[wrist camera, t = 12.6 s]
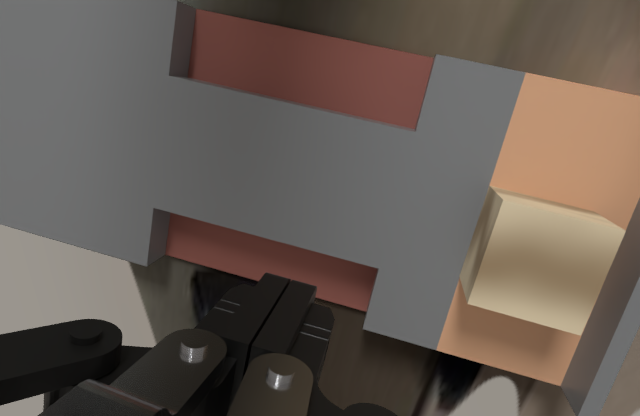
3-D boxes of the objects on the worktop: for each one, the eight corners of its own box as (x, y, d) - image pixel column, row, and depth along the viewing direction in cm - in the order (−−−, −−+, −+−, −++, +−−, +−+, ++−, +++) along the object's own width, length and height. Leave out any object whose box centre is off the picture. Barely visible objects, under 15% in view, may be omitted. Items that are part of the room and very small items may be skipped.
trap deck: (17, -28, 32) (-67, -55, 27) (667, 107, 27) (738, 109, 21) (11, 208, 37) (-61, 228, 31) (561, 364, 32) (595, 423, 26)
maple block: (489, 185, 27) (503, 199, 23) (594, 211, 26) (626, 230, 22) (459, 276, 28) (467, 303, 25) (556, 302, 28) (580, 335, 24)
